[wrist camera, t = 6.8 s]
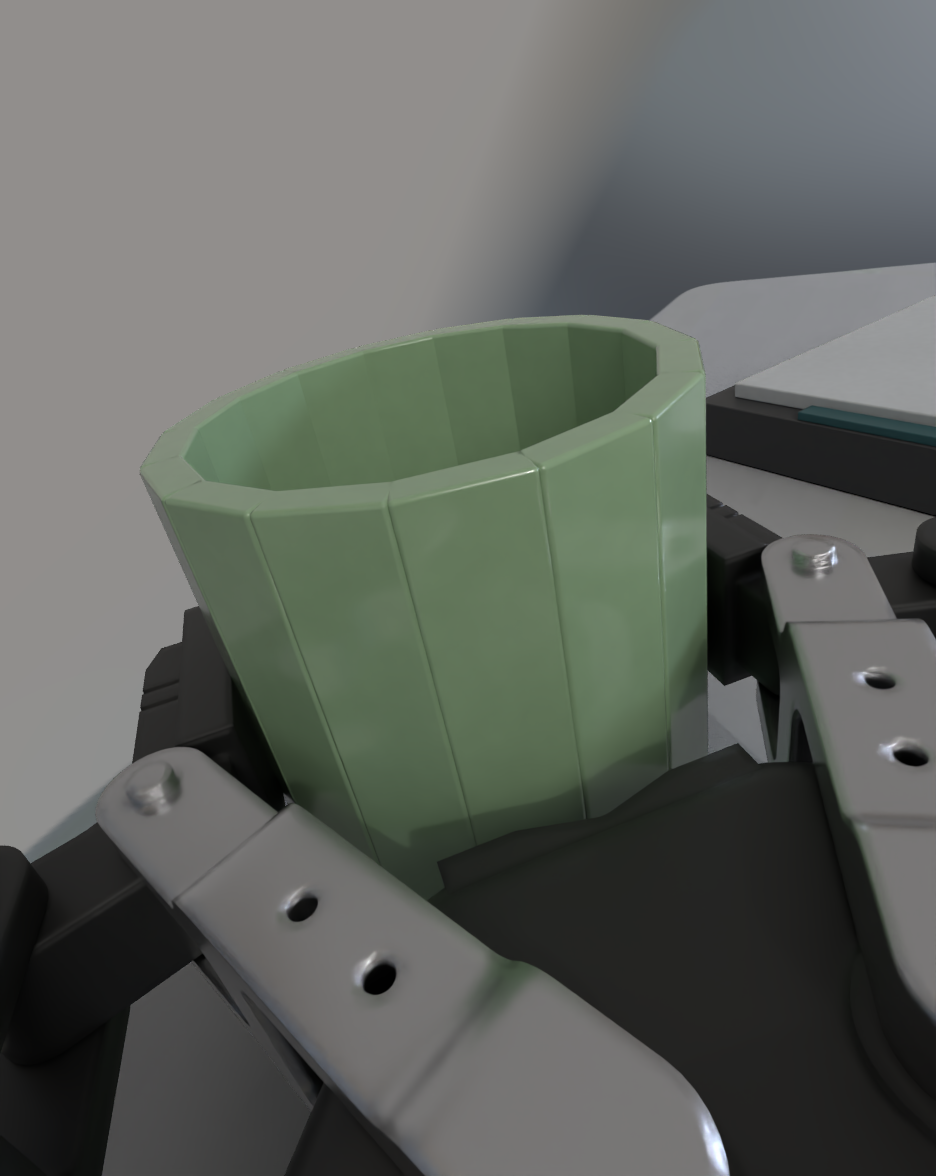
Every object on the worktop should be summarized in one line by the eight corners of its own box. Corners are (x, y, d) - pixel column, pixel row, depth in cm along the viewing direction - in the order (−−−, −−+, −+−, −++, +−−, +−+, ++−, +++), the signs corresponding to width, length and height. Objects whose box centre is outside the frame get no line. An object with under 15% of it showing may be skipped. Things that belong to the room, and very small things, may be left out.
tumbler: (481, 1190, 10) (236, 598, 5) (311, 876, 15) (104, 425, 10) (788, 916, 13) (840, 336, 7) (554, 726, 18) (489, 304, 12)
